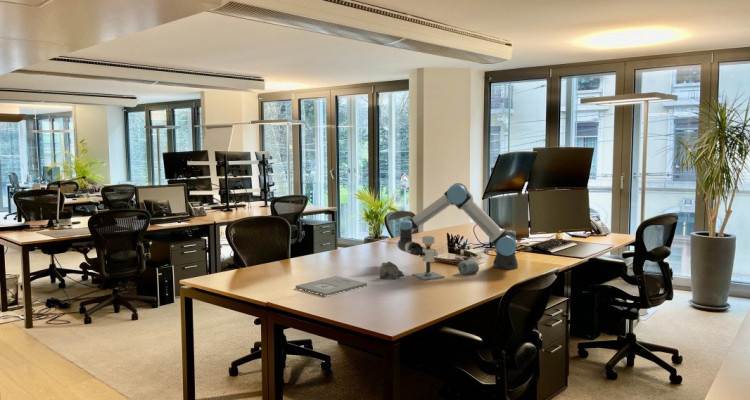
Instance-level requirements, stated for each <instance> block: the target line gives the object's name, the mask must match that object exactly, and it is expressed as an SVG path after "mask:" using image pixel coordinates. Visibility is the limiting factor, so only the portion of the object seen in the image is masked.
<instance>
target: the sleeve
mask: <svg viewBox="0 0 750 400" xmlns="http://www.w3.org/2000/svg"><path fill="white" fill-rule="evenodd" d="M424 248H425V249H422V251H425V252H428V253H429V258H427V257H425V256H422V257H421V258H422V259H421V260H422V261H423V262H425V263H426V262H430V263H431V262H432V263H433V262H435V256H434V249H435V248H432V247H430V250H426V247H424ZM431 248H432V249H431Z"/></svg>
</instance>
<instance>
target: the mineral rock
mask: <svg viewBox="0 0 750 400" xmlns="http://www.w3.org/2000/svg"><path fill="white" fill-rule="evenodd" d="M404 277H405V274H404V273H403V271H401V270H400V269H399V267H398V266H397V265H396V264H394V263H393V262H391V261H387V262H382V263H381V266H380V268H379V278H380V279H392V280H394V279H400V278H404Z"/></svg>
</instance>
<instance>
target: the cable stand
mask: <svg viewBox="0 0 750 400" xmlns="http://www.w3.org/2000/svg"><path fill="white" fill-rule="evenodd" d="M421 241H422V244H424V247H425V248H426V250H430V248H431V247H432V246H433V244H435V237H434V236H432V235H429V236H428V235H427V236H422V240H421ZM411 276H412V277H415V278H416V279H417V278H418V279H420V280H422V281H429V280H437V279H445V278H446V277H445V276H444V275H442V274H441V273H437V272H435V271H431V262H425V271H424V272H418V273H412V274H411Z"/></svg>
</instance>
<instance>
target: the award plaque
mask: <svg viewBox="0 0 750 400" xmlns="http://www.w3.org/2000/svg"><path fill="white" fill-rule="evenodd" d="M364 286H365V287H367V286H368V283H367V282H364V281H360V280H355V279H351V278H347V277H344V276H343V277H342V276H339V275H334V276H331V277H330V276H329V277H327V278H322V279H318V280H313V281H308V282H305V283H301V284H297V285H295V289H296V288H298V289H297V290H299V289H302V290H306V291H310V292H314V293H318V294H322V295H326V296H327V295H330V294H335V293H339V292H343V291H346V292H348V291H347V290H350V291H352V290H351V289H354V290H356V289H355V288H357V289H360V288H359V287H361V288H364ZM302 290H301V291H302ZM306 291H305V292H306ZM310 292H309V293H310ZM314 293H313V294H314ZM343 293H344V292H343ZM339 294H340V293H339ZM335 295H336V294H335Z"/></svg>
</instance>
